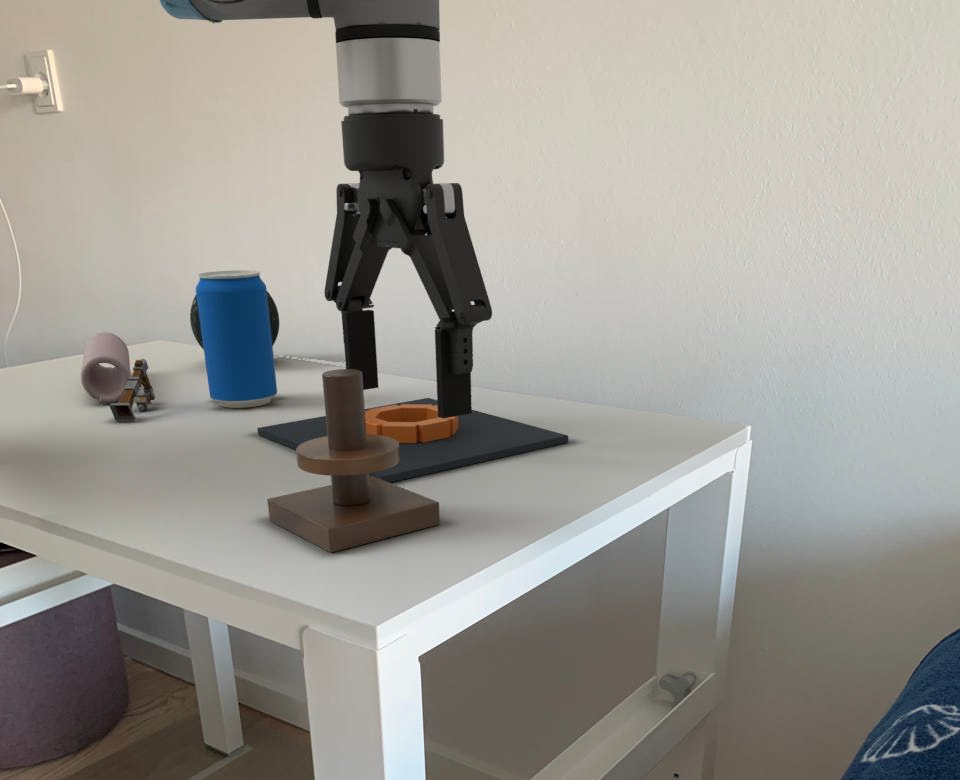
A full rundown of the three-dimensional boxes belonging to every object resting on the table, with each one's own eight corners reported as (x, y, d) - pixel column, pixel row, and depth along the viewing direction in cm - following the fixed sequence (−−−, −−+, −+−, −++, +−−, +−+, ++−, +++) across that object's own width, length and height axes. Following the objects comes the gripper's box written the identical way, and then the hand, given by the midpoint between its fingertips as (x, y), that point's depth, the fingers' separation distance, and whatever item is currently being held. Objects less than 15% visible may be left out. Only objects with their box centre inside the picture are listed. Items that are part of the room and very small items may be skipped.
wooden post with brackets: (163, 392, 99) (150, 352, 96) (142, 443, 94) (127, 403, 91) (145, 392, 99) (131, 352, 96) (124, 443, 94) (108, 403, 91)
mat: (257, 434, 86) (256, 427, 86) (428, 403, 96) (428, 397, 96) (382, 484, 72) (381, 476, 72) (568, 442, 82) (568, 435, 82)
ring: (343, 430, 85) (341, 414, 84) (420, 415, 89) (420, 400, 88) (395, 448, 79) (394, 430, 78) (475, 431, 83) (475, 415, 83)
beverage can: (288, 403, 98) (275, 273, 93) (225, 412, 95) (208, 278, 89) (262, 392, 103) (248, 268, 97) (201, 401, 99) (183, 273, 94)
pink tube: (79, 335, 112) (73, 361, 96) (122, 328, 113) (123, 352, 97) (92, 377, 114) (88, 408, 98) (133, 369, 115) (136, 399, 100)
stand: (269, 520, 65) (251, 372, 61) (373, 496, 69) (363, 356, 65) (330, 553, 59) (316, 391, 55) (440, 524, 64) (434, 372, 60)
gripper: (541, 102, 67) (539, 420, 76) (348, 119, 85) (365, 374, 94) (450, 100, 63) (459, 436, 72) (268, 118, 81) (294, 385, 90)
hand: (406, 401), depth 83 cm, fingers open, 13 cm apart
